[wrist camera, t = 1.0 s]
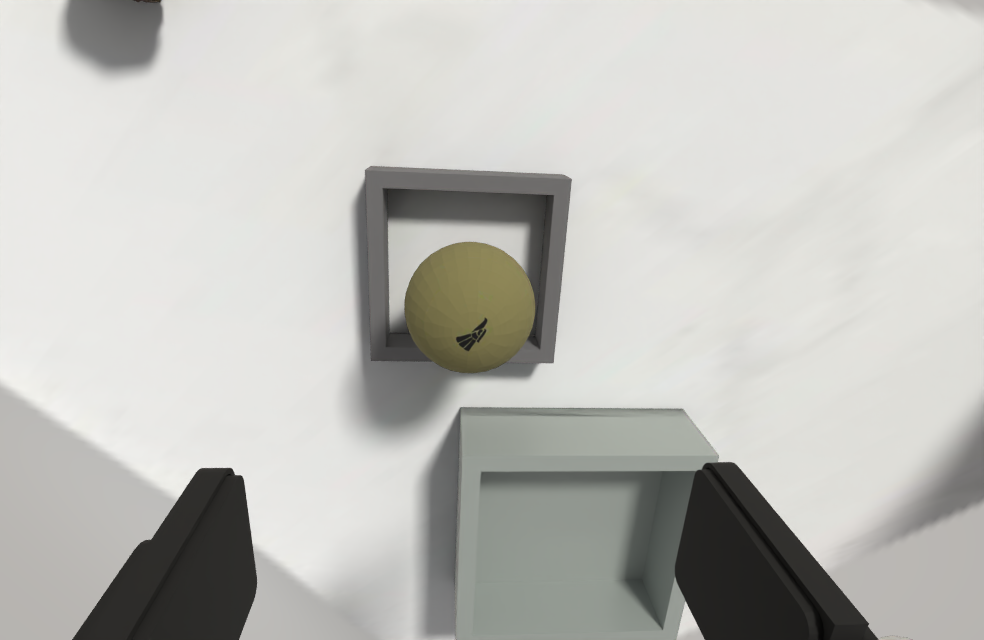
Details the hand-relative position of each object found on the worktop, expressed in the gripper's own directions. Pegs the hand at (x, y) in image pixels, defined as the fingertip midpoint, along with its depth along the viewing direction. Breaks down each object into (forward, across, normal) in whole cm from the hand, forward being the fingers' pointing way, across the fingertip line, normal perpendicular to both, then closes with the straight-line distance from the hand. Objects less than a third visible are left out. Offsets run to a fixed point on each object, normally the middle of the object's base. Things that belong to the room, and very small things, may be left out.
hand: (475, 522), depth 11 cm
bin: (+20, -8, +16) cm, 27 cm away
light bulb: (+20, -1, 0) cm, 20 cm away
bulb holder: (+20, -1, 0) cm, 20 cm away
